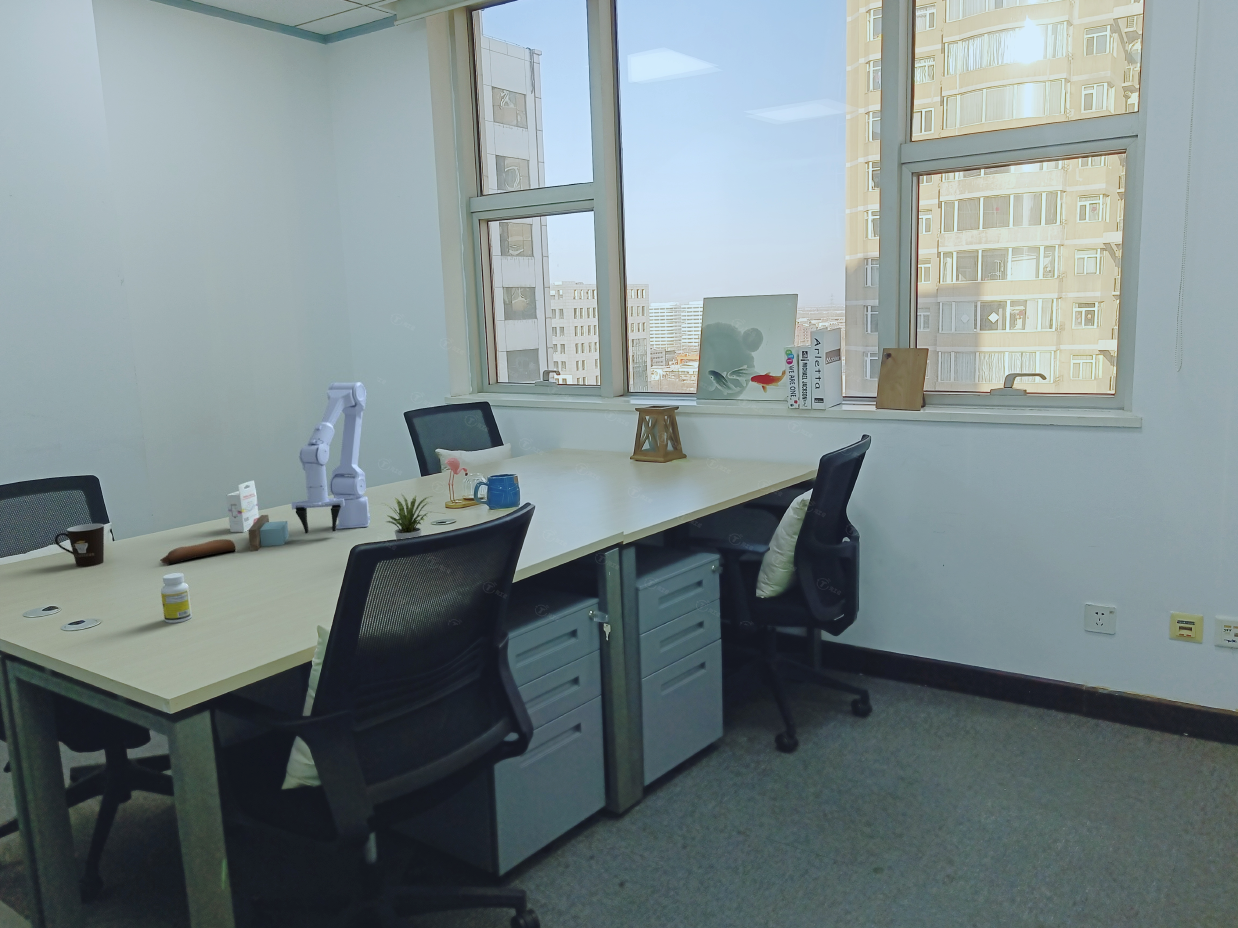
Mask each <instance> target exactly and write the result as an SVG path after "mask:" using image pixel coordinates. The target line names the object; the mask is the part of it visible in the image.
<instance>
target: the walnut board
mask: <svg viewBox="0 0 1238 928" xmlns="http://www.w3.org/2000/svg"><path fill="white" fill-rule="evenodd" d="M266 522H270V517H269V514H261V515H260V516H259V518H258V519H257V521H256V522H255V523H254V524H253V525H252V526H251V528H250V529H249V530H248V531H247V532H248V541H249V551H250V552H255V551H259V550H260V549H261V547H262V546H261V538H260V529H261V528H262V527H263V525H264V524H265V523H266Z"/></svg>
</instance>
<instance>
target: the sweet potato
mask: <svg viewBox="0 0 1238 928" xmlns="http://www.w3.org/2000/svg"><path fill="white" fill-rule="evenodd" d="M226 552H227V553H228V552H234V553H236V545H235V543H234V542H233V540H231V539H226V538H225V539H223V538H222V539H214V540H210V541H206V542H203V543H199V544H193V545H187V546H179V547H176V548H174V549H172V550H170V551H169V552H168V553H167V554H166V555H165V556H164V557H162V558H161V559H160V562H162V563H164V564H166V565H167V566H170V565H173V564H176V563H181V562H185V561H186V560H191V559H194V558H200V557H206V556H209V555H217V554H222V553H226Z"/></svg>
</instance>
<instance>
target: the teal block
mask: <svg viewBox="0 0 1238 928" xmlns="http://www.w3.org/2000/svg"><path fill="white" fill-rule="evenodd" d="M288 523H289V522H288V520H284V521H283V520H281V521H269V522H266V523H265V524H264V525H263V527H262V528H261V529H260V538H261V547H270V546H271V545H274V546H283V545H285V543H286V542H287V541H288V539H289V537H290V535H289V524H288ZM271 547H272V546H271Z"/></svg>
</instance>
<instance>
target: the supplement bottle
mask: <svg viewBox="0 0 1238 928" xmlns="http://www.w3.org/2000/svg"><path fill="white" fill-rule="evenodd" d="M184 577H185V575H184V573H182V572H175V573H168V574H166V575H163V576H162V583H163V586H162V587H161V589H160V594H161V601H162V609H163V618H164V622H166V623H169V624H174V623H175V624H176V623H182V622H186V621H188V620H190V619H191V618H192V617H193V612H192V603H191V597H190V596H191V595H190V587H189V585H188V584H187V583H186V582H184V581H185V578H184Z"/></svg>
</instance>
